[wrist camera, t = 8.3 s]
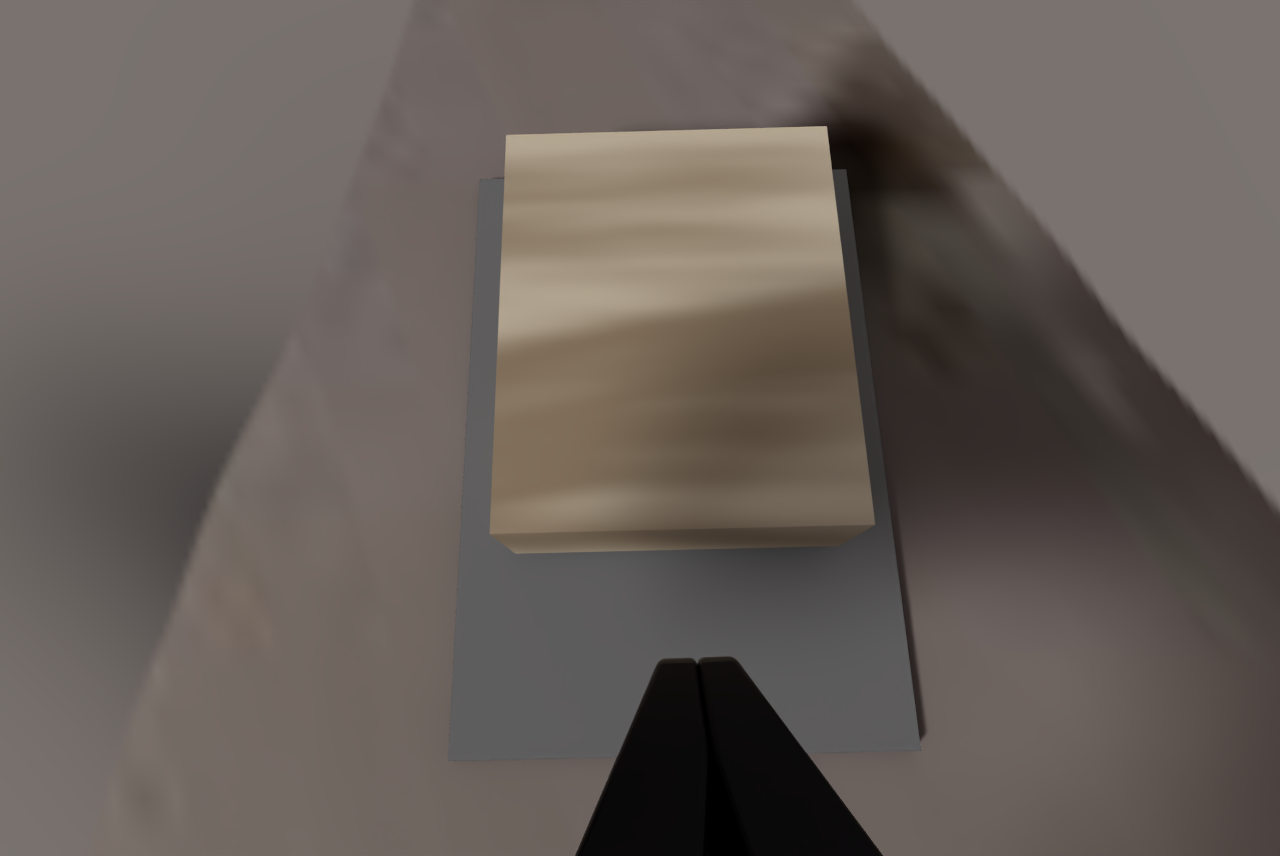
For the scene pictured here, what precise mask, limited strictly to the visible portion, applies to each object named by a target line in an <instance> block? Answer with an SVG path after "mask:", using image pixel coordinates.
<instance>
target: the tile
mask: <svg viewBox="0 0 1280 856" xmlns="http://www.w3.org/2000/svg"><path fill="white" fill-rule="evenodd" d="M874 525H875V519H874V511H873V502H872V494H871V486H870V478H869V470H868V461H867V453H866V445H865V437H864V429H863V420H862V412H861V404H860V396H859V387H858V379H857V371H856V363H855V355H854V346H853V338H852V330H851V322H850V314H849V305H848V297H847V289H846V281H845V272H844V264H843V256H842V248H841V240H840V231H839V223H838V215H837V207H836V199H835V190H834V182H833V174H832V166H831V157H830V149H829V141H828V133H827V126H818V127H781V128H745V129H709V130H673V131H636V132H600V133H564V134H528V135H506V154H505V178H504V202H503V226H502V250H501V273H500V297H499V321H498V345H497V369H496V392H495V416H494V440H493V464H492V488H491V512H490V535H492V536H493V537H494V538H496V539H497V540H498V541H499V542H501V543H502V544H503V545H505V546H506V547H507V548H509V549H510V550H511V551H513V552H514V553H515V554H524V553H566V552H608V551H650V550H693V549H735V548H777V547H819V546H840V545H842V544H843V543H845V542H847V541H848V540H850V539H852V538H853V537H855V536H857V535H859V534H860V533H862V532H864V531H865V530H867V529H869V528H870V527H872V526H874Z"/></svg>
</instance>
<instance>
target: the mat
mask: <svg viewBox="0 0 1280 856" xmlns="http://www.w3.org/2000/svg"><path fill="white" fill-rule="evenodd" d="M832 174H833V182H834V190H835V199H836V207H837V215H838V223H839V231H840V240H841V248H842V256H843V264H844V272H845V281H846V289H847V297H848V305H849V314H850V322H851V330H852V338H853V346H854V355H855V363H856V371H857V379H858V387H859V396H860V404H861V412H862V420H863V429H864V437H865V445H866V453H867V461H868V470H869V478H870V486H871V494H872V502H873V511H874V519H875V525H874V526H872V527H870V528H869V529H867V530H865V531H864V532H862V533H860V534H859V535H857V536H855V537H853V538H852V539H850V540H848V541H847V542H845V543H843V544H842V545H840V546H819V547H777V548H735V549H693V550H650V551H608V552H566V553H524V554H515V553H514V552H513V551H511V550H510V549H509V548H507V547H506V546H505V545H503V544H502V543H501V542H499V541H498V540H497V539H496V538H494V537H493V536H492V535H490V512H491V488H492V464H493V440H494V416H495V392H496V369H497V345H498V321H499V297H500V273H501V250H502V226H503V202H504V179H480V182H479V200H478V219H477V237H476V255H475V274H474V292H473V311H472V329H471V347H470V366H469V384H468V403H467V421H466V439H465V458H464V476H463V495H462V513H461V531H460V550H459V568H458V587H457V605H456V623H455V642H454V660H453V679H452V697H451V715H450V734H449V752H448V761H475V760H521V759H567V758H612V757H617V756H618V754H619V751H620V749H621V747H622V744H623V742H624V740H625V737H626V735H627V733H628V730H629V728H630V725H631V723H632V721H633V718H634V716H635V714H636V711H637V709H638V707H639V704H640V702H641V700H642V697H643V695H644V693H645V690H646V688H647V686H648V683H649V681H650V678H651V676H652V674H653V671H654V669H655V667H656V665H657V663H658V662H659V661H660V660H661V659H665V658H693V659H694V660H695V661H696V663H697V662H698V660H699V659H700V658H702V657H723V656H731V657H733V658H735V659H736V660H737V661H738V662H739V663H740V664H741V666H742V667H743V668H744V670H745V671H746V672H747V674H748V675H749V676H750V678H751V679H752V680H753V682H754V683H755V684H756V686H757V687H758V688H759V690H760V691H761V692H762V694H763V695H764V696H765V698H766V699H767V701H768V702H769V703H770V705H771V706H772V707H773V709H774V710H775V711H776V713H777V714H778V715H779V717H780V718H781V719H782V721H783V722H784V723H785V725H786V726H787V727H788V729H789V730H790V731H791V733H792V734H793V735H794V737H795V738H796V739H797V741H798V742H799V743H800V745H801V746H802V748H803V749H804V750H805V752H806V753H842V752H888V751H921V746H920V739H919V731H918V723H917V715H916V707H915V700H914V692H913V684H912V676H911V669H910V661H909V653H908V645H907V638H906V630H905V622H904V614H903V607H902V599H901V591H900V583H899V576H898V568H897V560H896V552H895V544H894V537H893V529H892V521H891V513H890V506H889V498H888V490H887V482H886V475H885V467H884V459H883V451H882V444H881V436H880V428H879V420H878V413H877V405H876V397H875V389H874V382H873V374H872V366H871V358H870V350H869V343H868V335H867V327H866V319H865V312H864V304H863V296H862V288H861V281H860V273H859V265H858V257H857V250H856V242H855V234H854V226H853V219H852V211H851V203H850V195H849V187H848V180H847V172H846V169H839V170H832Z"/></svg>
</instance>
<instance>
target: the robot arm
mask: <svg viewBox="0 0 1280 856" xmlns="http://www.w3.org/2000/svg"><path fill="white" fill-rule="evenodd" d="M575 856H883V855H882V854H881V852H880V851H879V850H878V848H877V847H876V846H875V844H874V843H873V842H872V840H871V839H870V837H869V836H868V835H867V833H866V832H865V831H864V829H863V828H862V827H861V825H860V824H859V823H858V821H857V820H856V819H855V817H854V816H853V815H852V813H851V812H850V811H849V809H848V808H847V807H846V805H845V804H844V803H843V801H842V800H841V799H840V797H839V796H838V795H837V793H836V792H835V790H834V789H833V788H832V786H831V785H830V784H829V782H828V781H827V780H826V778H825V777H824V776H823V774H822V773H821V772H820V770H819V769H818V768H817V766H816V765H815V764H814V762H813V761H812V760H811V758H810V757H809V756H808V754H807V753H806V752H805V750H804V749H803V748H802V746H801V745H800V743H799V742H798V741H797V739H796V738H795V737H794V735H793V734H792V733H791V731H790V730H789V729H788V727H787V726H786V725H785V723H784V722H783V721H782V719H781V718H780V717H779V715H778V714H777V713H776V711H775V710H774V709H773V707H772V706H771V705H770V703H769V702H768V701H767V699H766V698H765V696H764V695H763V694H762V692H761V691H760V690H759V688H758V687H757V686H756V684H755V683H754V682H753V680H752V679H751V678H750V676H749V675H748V674H747V672H746V671H745V670H744V668H743V667H742V666H741V664H740V663H739V662H738V661H737V660H736V659H735V658H733V657H731V656H723V657H702V658H700V659H699V660H698V662H697V663H696V661H695V660H694V659H693V658H665V659H661V660H660V661H659V662H658V663H657V665H656V667H655V669H654V671H653V674H652V676H651V678H650V681H649V683H648V686H647V688H646V690H645V693H644V695H643V697H642V700H641V702H640V704H639V707H638V709H637V711H636V714H635V716H634V718H633V721H632V723H631V725H630V728H629V730H628V733H627V735H626V737H625V740H624V742H623V744H622V747H621V749H620V751H619V754H618V756H617V758H616V761H615V763H614V765H613V768H612V770H611V773H610V775H609V777H608V780H607V782H606V784H605V787H604V789H603V791H602V794H601V796H600V798H599V801H598V803H597V805H596V808H595V810H594V812H593V815H592V817H591V820H590V822H589V824H588V827H587V829H586V831H585V834H584V836H583V838H582V841H581V843H580V845H579V848H578V850H577V852H576V855H575Z"/></svg>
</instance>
